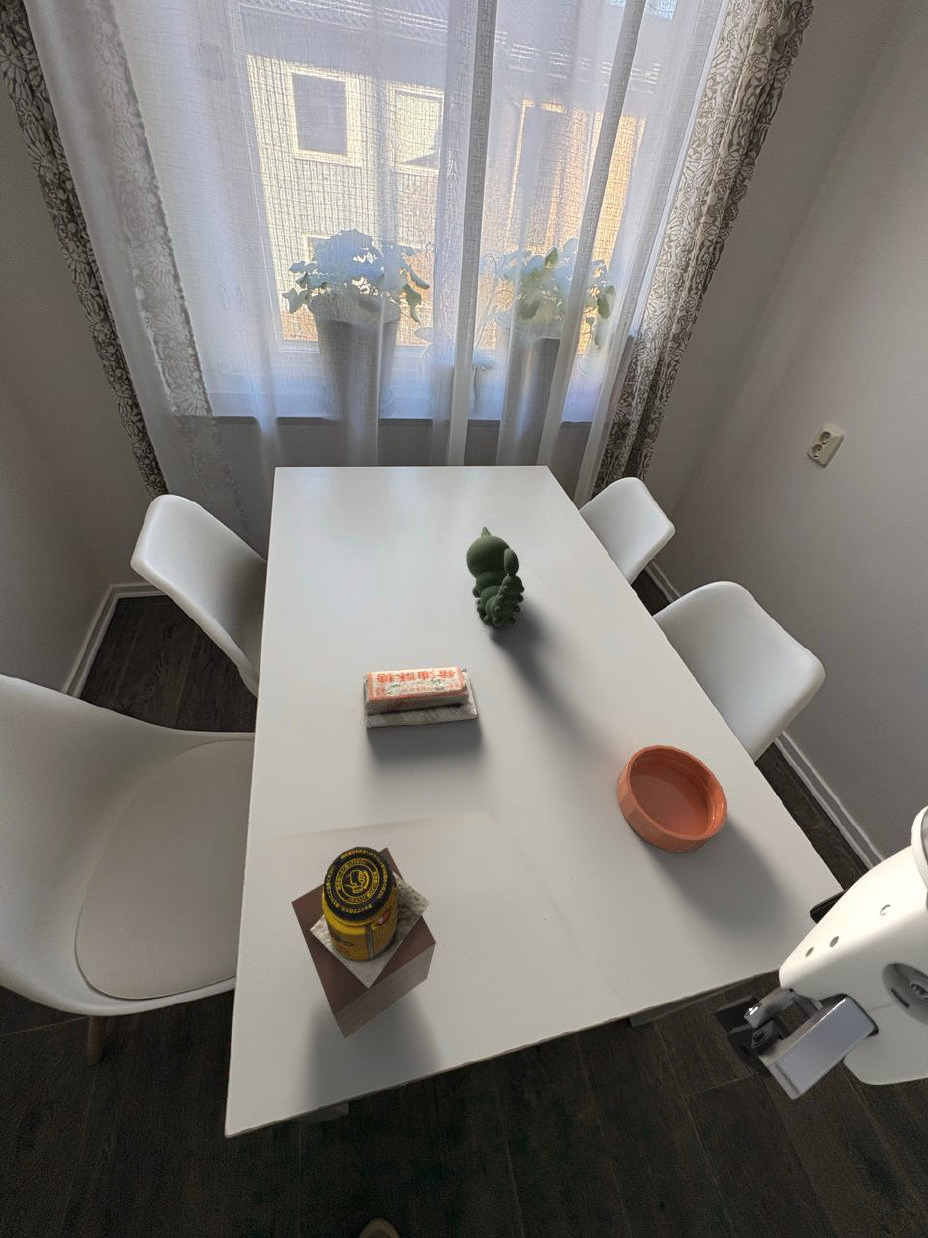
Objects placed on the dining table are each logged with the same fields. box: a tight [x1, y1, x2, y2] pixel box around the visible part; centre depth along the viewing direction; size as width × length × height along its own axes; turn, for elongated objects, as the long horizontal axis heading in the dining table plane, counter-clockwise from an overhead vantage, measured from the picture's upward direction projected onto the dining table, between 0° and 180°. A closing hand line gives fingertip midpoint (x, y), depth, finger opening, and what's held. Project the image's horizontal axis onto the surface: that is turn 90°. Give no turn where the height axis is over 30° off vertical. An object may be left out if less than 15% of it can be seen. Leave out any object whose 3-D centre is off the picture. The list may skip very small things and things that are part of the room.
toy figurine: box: [465, 526, 525, 627], centre depth 99 cm, size 9×19×25 cm
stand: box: [290, 847, 437, 1039], centre depth 53 cm, size 10×10×16 cm
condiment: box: [310, 846, 431, 989], centre depth 44 cm, size 7×8×12 cm
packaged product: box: [362, 666, 478, 728], centre depth 84 cm, size 18×5×10 cm
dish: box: [616, 744, 728, 853], centre depth 75 cm, size 14×14×4 cm
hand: (789, 984), depth 30 cm, fingers open, 9 cm apart
